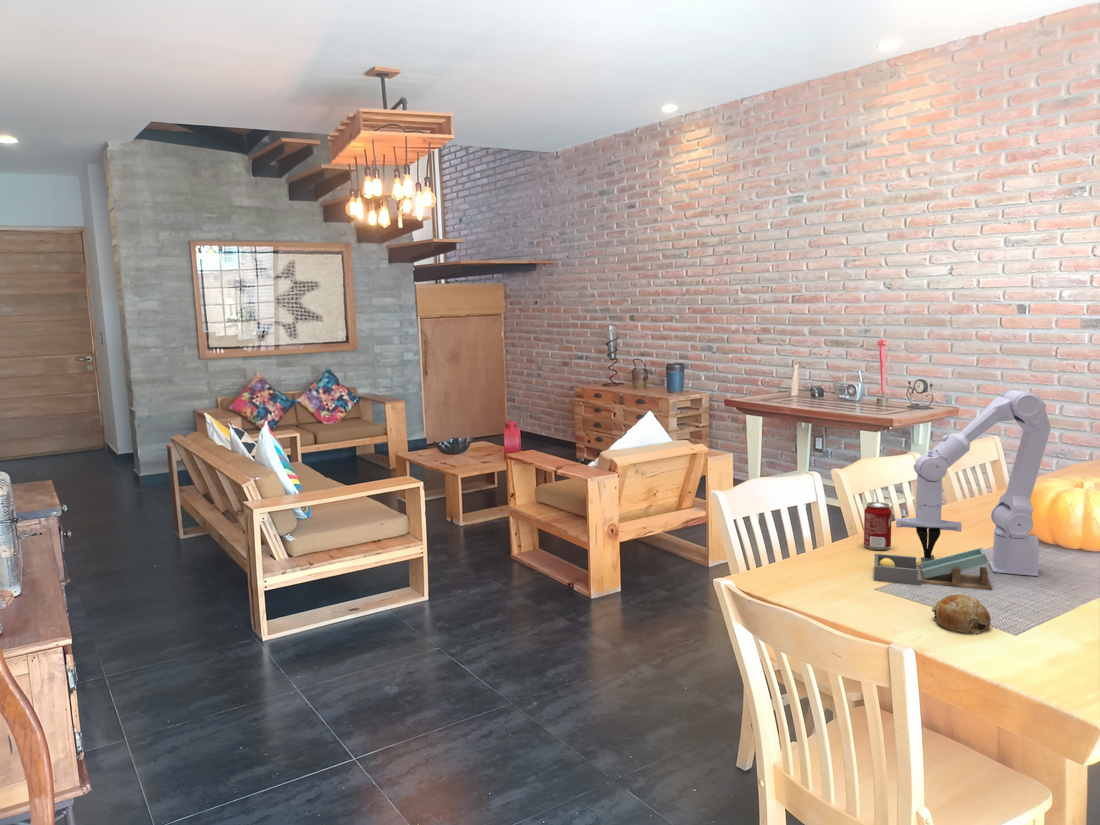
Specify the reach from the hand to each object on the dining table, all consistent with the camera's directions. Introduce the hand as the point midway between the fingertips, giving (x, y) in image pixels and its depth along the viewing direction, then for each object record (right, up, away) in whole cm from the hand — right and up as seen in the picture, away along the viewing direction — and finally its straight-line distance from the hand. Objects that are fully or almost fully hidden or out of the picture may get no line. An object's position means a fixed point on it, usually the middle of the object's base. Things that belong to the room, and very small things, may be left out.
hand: (927, 557), depth 196 cm
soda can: (-5, -1, +18) cm, 18 cm away
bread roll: (-10, -8, -35) cm, 37 cm away
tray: (-10, -4, -5) cm, 12 cm away
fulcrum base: (+2, -4, -10) cm, 11 cm away
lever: (+3, 0, -7) cm, 7 cm away
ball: (-12, -1, -5) cm, 13 cm away
